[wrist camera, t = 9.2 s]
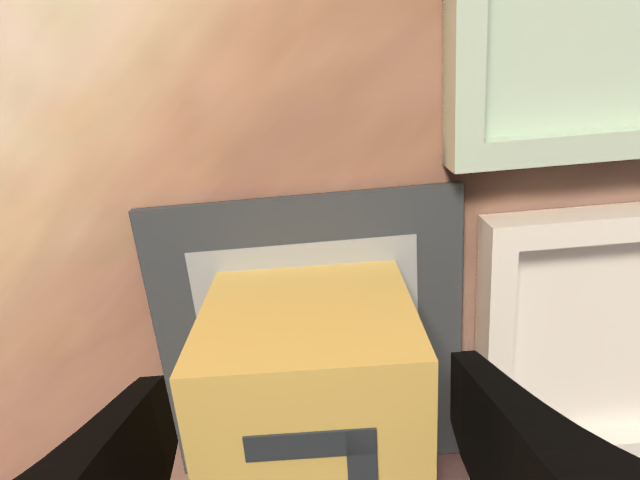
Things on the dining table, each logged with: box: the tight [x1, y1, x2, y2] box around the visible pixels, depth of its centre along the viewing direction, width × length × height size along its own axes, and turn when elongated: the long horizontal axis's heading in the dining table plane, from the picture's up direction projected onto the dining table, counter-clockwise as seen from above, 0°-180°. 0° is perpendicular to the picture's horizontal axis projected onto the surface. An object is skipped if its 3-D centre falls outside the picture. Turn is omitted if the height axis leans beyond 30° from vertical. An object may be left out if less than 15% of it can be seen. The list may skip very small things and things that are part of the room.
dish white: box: [475, 202, 640, 457], centre depth 15 cm, size 8×8×1 cm
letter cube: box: [169, 260, 438, 480], centre depth 12 cm, size 5×5×5 cm
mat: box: [128, 181, 464, 474], centre depth 15 cm, size 9×9×1 cm
